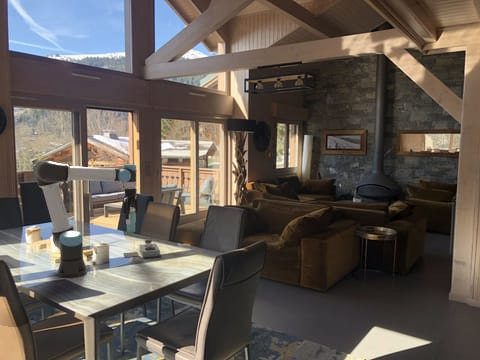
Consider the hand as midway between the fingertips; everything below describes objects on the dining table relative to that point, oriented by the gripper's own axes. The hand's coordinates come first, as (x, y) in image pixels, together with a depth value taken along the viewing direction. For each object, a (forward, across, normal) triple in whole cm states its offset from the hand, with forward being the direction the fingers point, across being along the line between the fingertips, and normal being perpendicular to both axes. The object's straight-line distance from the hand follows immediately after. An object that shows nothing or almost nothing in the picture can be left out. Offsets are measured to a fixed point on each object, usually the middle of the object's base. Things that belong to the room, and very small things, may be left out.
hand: (130, 223), depth 246 cm
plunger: (+21, +12, -6) cm, 24 cm away
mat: (+21, 0, 0) cm, 21 cm away
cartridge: (+6, 0, 0) cm, 6 cm away
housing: (+21, +8, -9) cm, 24 cm away
